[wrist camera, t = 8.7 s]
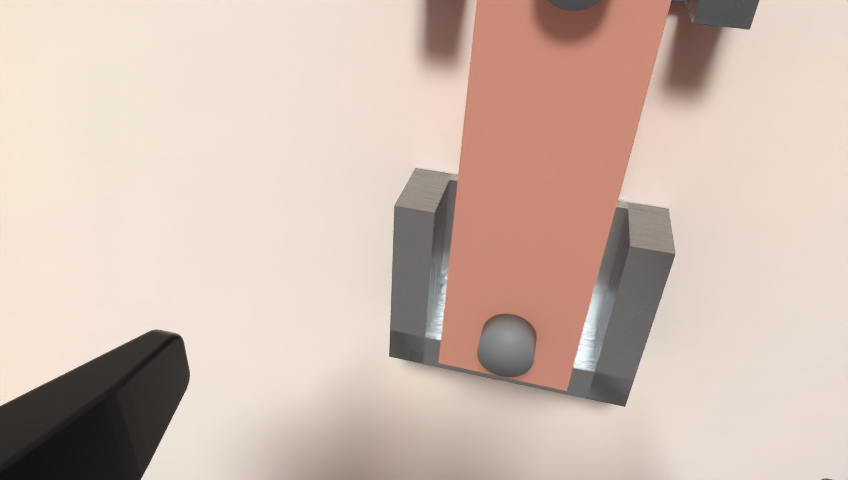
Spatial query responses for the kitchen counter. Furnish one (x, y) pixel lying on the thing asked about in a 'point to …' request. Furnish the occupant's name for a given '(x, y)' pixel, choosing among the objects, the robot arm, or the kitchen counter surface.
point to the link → (541, 176)
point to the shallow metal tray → (615, 286)
